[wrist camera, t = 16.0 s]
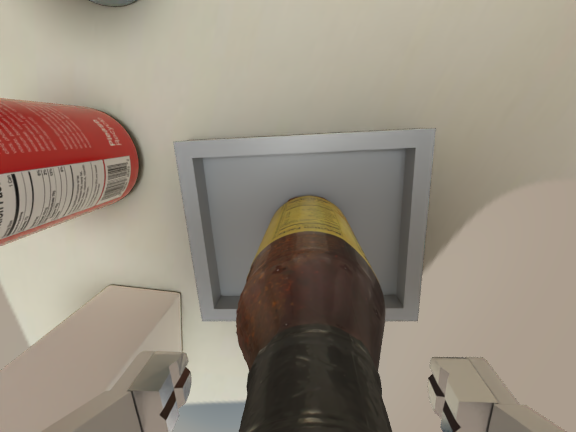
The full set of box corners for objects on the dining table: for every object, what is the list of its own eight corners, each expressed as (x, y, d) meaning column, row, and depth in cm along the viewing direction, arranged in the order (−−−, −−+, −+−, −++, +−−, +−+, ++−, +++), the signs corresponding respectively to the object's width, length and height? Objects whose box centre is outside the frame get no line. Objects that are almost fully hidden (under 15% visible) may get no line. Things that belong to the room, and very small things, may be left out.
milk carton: (109, 283, 28) (-267, 576, 10) (181, 291, 27) (-66, 609, 9) (116, 343, 30) (-183, 677, 12) (183, 351, 30) (-16, 706, 11)
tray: (419, 128, 22) (435, 128, 19) (405, 300, 26) (417, 321, 23) (189, 140, 23) (173, 141, 20) (213, 301, 27) (202, 321, 25)
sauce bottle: (328, 272, 25) (393, 751, 6) (260, 246, 24) (90, 656, 5) (361, 204, 23) (629, 583, 4) (288, 175, 22) (177, 421, 3)
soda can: (157, 194, 25) (-50, 283, 10) (76, 208, 26) (-217, 309, 11) (126, 98, 23) (-189, 44, 8) (39, 118, 23) (-381, 100, 9)
